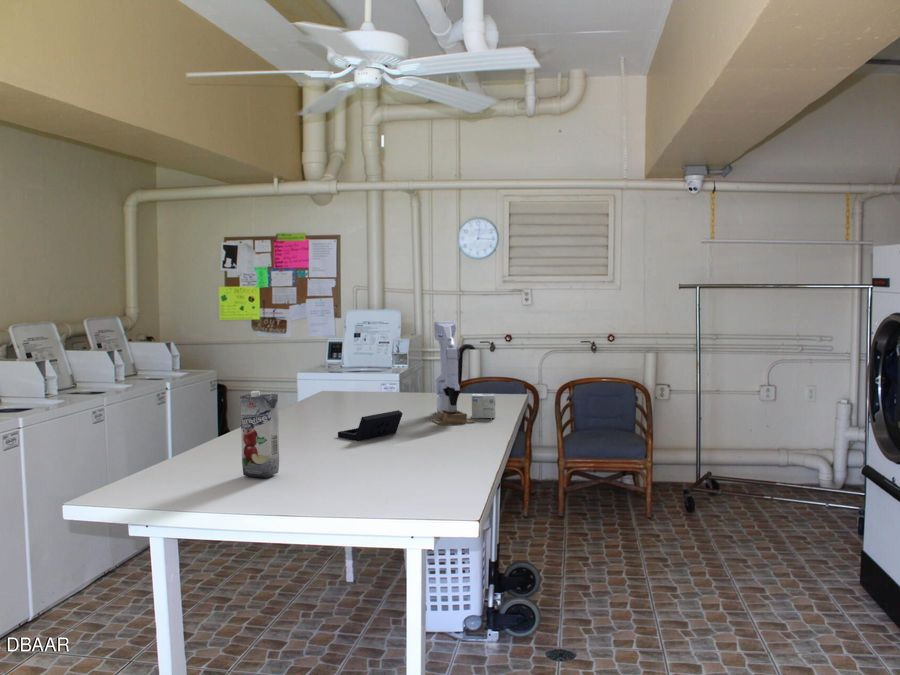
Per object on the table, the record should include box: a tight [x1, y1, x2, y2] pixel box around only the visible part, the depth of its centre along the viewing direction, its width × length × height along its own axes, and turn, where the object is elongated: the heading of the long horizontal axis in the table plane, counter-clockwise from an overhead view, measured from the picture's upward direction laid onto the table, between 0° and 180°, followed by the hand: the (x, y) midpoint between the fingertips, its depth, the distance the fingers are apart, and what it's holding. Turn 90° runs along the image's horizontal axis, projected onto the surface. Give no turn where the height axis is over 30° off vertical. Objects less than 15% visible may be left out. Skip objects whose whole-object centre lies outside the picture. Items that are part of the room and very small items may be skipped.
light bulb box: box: [471, 393, 496, 420], centre depth 337 cm, size 11×7×11 cm, turn 84°
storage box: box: [337, 409, 404, 442], centre depth 297 cm, size 21×16×10 cm
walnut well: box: [429, 409, 475, 426], centre depth 328 cm, size 14×16×4 cm
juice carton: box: [239, 390, 280, 479], centre depth 233 cm, size 9×10×27 cm
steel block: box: [445, 395, 458, 412], centre depth 327 cm, size 4×4×7 cm
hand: (451, 404), depth 328 cm, fingers closed on steel block, 4 cm apart
